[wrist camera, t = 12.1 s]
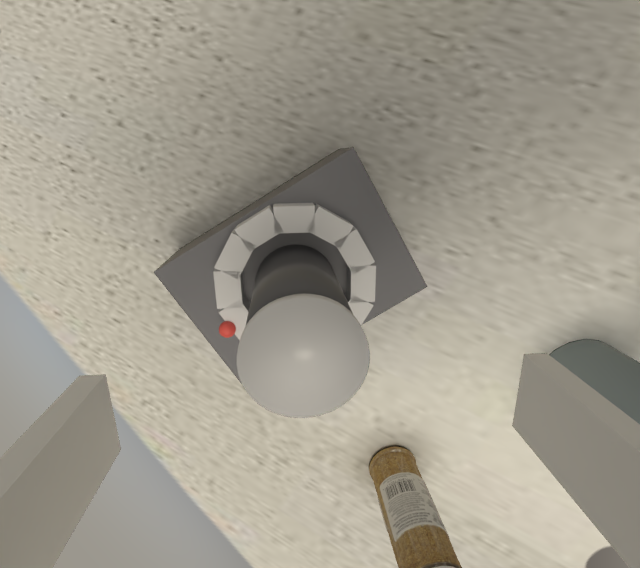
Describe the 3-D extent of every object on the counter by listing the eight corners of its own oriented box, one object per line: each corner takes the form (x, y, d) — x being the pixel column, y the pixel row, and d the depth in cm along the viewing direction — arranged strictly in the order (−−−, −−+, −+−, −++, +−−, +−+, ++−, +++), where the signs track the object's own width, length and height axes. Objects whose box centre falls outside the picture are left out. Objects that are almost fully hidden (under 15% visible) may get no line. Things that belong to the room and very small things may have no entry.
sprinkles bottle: (368, 485, 38) (412, 650, 25) (368, 446, 37) (414, 600, 24) (415, 479, 38) (481, 639, 26) (416, 441, 37) (486, 590, 24)
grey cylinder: (264, 233, 24) (253, 284, 14) (346, 254, 25) (387, 316, 15) (245, 313, 25) (223, 408, 16) (323, 330, 26) (346, 430, 17)
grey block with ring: (339, 149, 28) (360, 146, 21) (401, 262, 31) (439, 297, 24) (178, 249, 29) (142, 282, 22) (253, 350, 33) (244, 409, 25)
